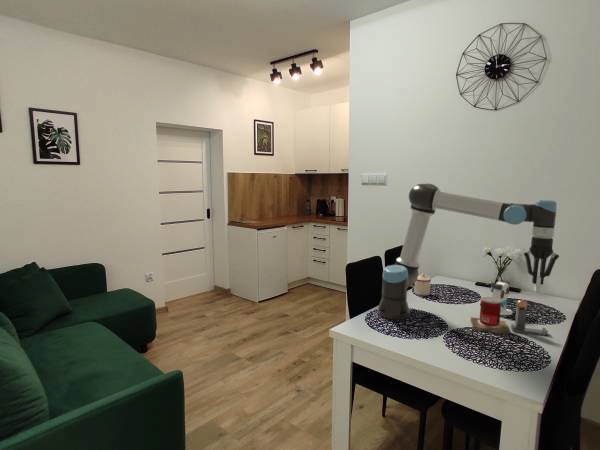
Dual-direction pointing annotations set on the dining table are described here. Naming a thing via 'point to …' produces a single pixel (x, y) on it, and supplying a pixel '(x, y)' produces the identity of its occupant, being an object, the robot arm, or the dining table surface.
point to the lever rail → (530, 331)
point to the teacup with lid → (422, 285)
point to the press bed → (489, 327)
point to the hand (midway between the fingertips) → (536, 291)
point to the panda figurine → (502, 295)
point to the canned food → (490, 311)
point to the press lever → (520, 315)
